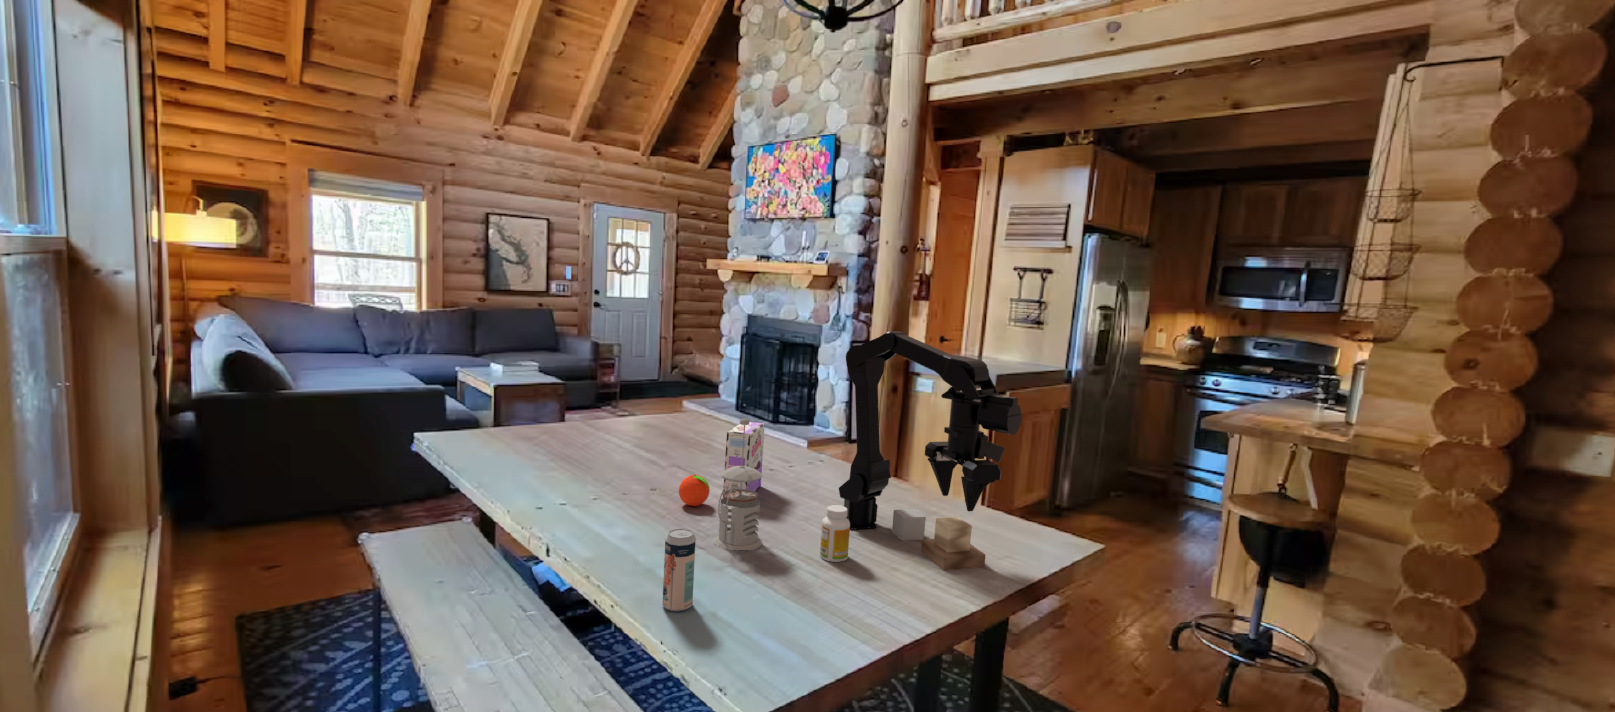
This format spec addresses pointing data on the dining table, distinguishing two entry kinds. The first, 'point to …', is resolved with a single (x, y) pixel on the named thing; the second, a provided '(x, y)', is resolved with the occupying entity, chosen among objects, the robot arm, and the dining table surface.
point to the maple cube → (952, 534)
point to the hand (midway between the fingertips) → (957, 503)
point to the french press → (739, 509)
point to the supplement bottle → (835, 534)
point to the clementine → (694, 490)
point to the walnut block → (952, 556)
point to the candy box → (745, 452)
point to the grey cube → (908, 524)
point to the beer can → (679, 570)
